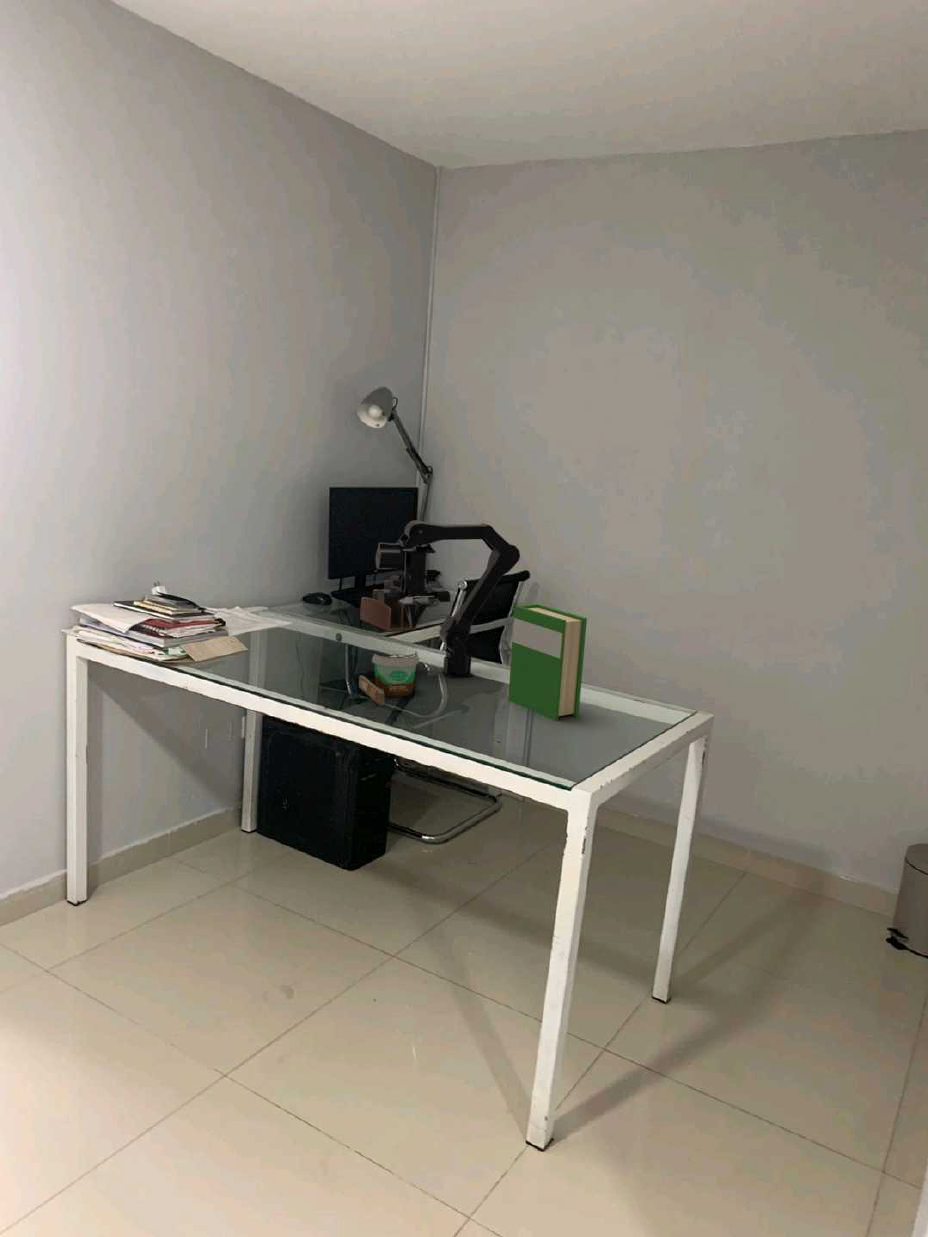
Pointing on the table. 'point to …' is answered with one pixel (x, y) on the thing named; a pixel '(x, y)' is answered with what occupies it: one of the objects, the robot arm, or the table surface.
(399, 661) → the food container
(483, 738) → the table surface
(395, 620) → the letter holder
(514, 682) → the hardback book
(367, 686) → the rail
